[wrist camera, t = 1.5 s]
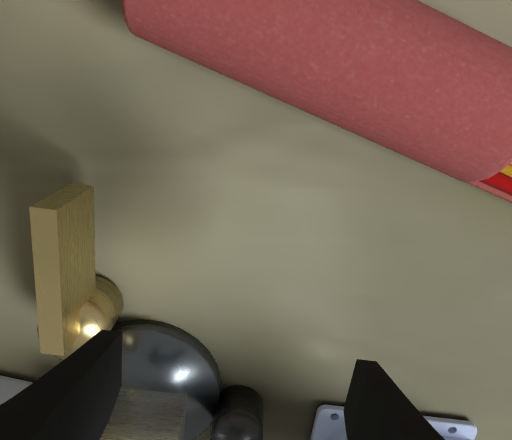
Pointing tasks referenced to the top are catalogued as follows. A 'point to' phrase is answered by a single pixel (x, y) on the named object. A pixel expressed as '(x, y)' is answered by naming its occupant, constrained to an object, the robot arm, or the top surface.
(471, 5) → the top surface
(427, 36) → the blood vessel
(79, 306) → the brass knob
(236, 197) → the top surface
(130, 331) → the base
